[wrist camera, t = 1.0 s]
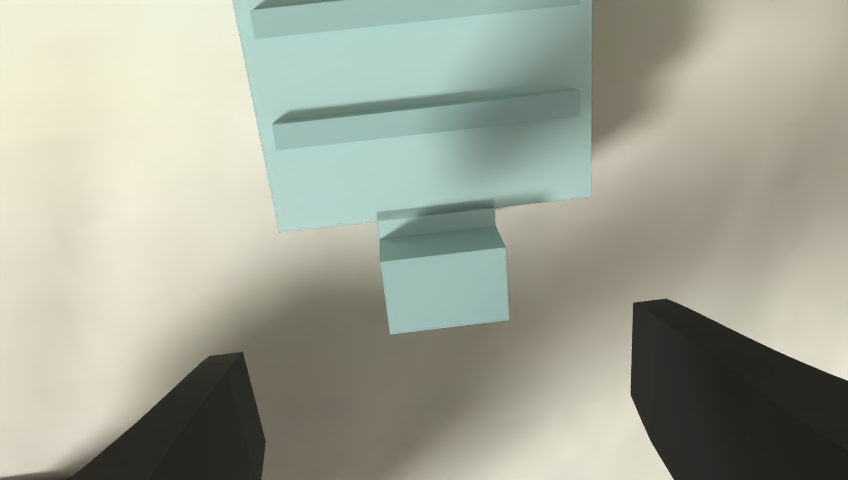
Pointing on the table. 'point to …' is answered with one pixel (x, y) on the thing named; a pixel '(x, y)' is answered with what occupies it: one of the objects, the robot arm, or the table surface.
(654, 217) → the table surface
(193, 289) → the table surface
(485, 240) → the teal ridged block
